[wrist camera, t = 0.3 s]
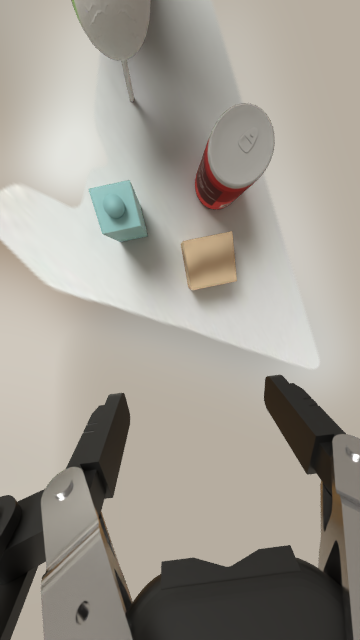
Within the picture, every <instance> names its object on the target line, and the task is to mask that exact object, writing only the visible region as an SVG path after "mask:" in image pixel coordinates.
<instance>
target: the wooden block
mask: <svg viewBox="0 0 360 640" xmlns="http://www.w3.org/2000/svg"><path fill="white" fill-rule="evenodd" d="M181 248H182V254H183V259H184V265H185V271H186V276H187V282H188V287H189V288H190V289H191V290H197V289H201V288H206V287H211V286H216V285H221V284H226V283H230V282H235V281H237V277H236V266H235V256H234V245H233V234H232V231H231V232H226V233H221V234H216V235H211V236H206V237H201V238H196V239H191V240H186V241H183V242H182V243H181Z"/></svg>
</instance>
